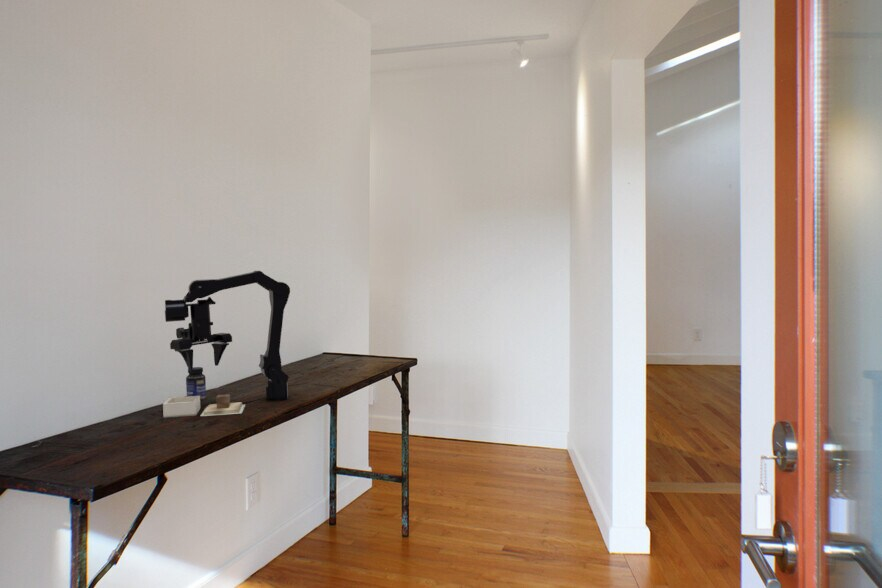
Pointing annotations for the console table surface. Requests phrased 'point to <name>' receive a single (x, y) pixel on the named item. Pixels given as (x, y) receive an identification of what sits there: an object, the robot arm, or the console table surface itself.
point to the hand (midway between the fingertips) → (203, 367)
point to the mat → (227, 413)
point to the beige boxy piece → (181, 406)
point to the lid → (223, 406)
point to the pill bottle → (196, 383)
